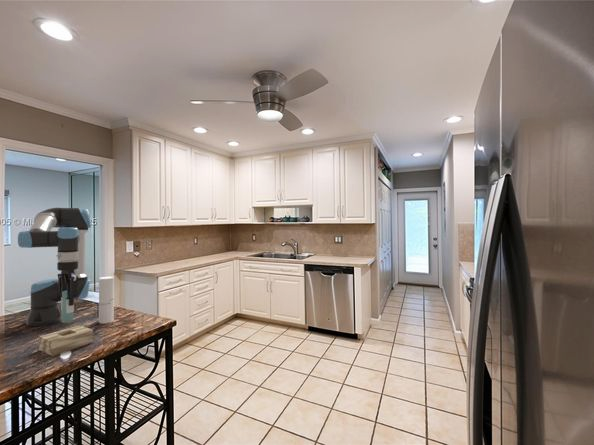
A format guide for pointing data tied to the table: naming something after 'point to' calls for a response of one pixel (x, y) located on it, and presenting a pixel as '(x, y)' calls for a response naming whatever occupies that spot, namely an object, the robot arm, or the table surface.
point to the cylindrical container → (106, 299)
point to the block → (65, 340)
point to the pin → (65, 316)
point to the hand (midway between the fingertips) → (67, 311)
